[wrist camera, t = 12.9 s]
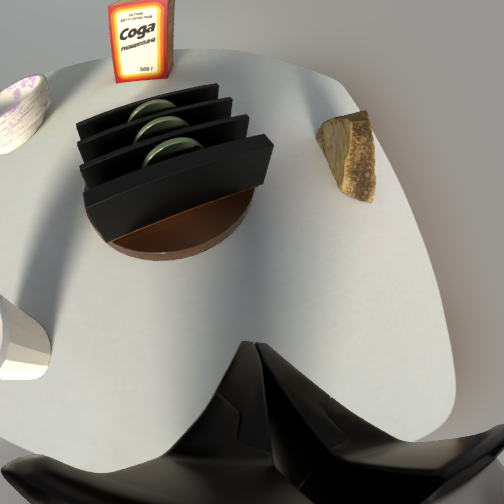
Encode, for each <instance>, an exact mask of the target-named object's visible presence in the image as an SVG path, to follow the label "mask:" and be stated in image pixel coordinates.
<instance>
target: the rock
mask: <svg viewBox="0 0 504 504" xmlns="http://www.w3.org/2000/svg"><path fill="white" fill-rule="evenodd" d="M317 131H318V132H317V134H316V139H317V142H318V144H319V145H320V147H321V149H322V151H323V153H324V155H325V157H326V158H327V161H328V163H329V167H330V169H331V171H332V173H333V176H334V177H335V179H336V180H337V184H338V187H339V188H340V190H341V191H342V192H344V193H346V194H347V195H350V196H352V197H354V198H356V199H358V200H361V201H367V202H370V203H371V202H372V200H373V199H372V197H373V195H374V193H375V185H376V176H375V169H374V167H375V146H374V138H373V135H372V130H371V123H370V121H369V116H368V113H367V111H360V112H356V113H352V114H348V115H344V116H339V117H334V118H332V119H330V120H327V121H326V122H323V124H322V126H321V127H320V128H319V129H318V130H317Z"/></svg>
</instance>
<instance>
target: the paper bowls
mask: <svg viewBox="0 0 504 504" xmlns="http://www.w3.org/2000/svg"><path fill="white" fill-rule="evenodd" d="M51 101H52V98H51V95H50V91H49V88H48V85H47V80H46V77H45V76H44V75H43V74H36V75H32V76H29V77H26V78H24V79H21V80H19V81H17V82H16V83H14V84H12V85H10V86H9V87H7V88H5V89H4V90H3V91H1V92H0V154H5V153H8V152H11V151H13V150H15V149H16V148H18V147H19V146H21V145H22V144H24V143H25V142H26V141H27V140H28V139H29V138H30V137H32V135H33V134H34V133H35V132H36V131H37V130H38V128H39V127H40V125H41V123H42V121H43V116H44V113H45V112H46V111H47V110H48V108H49V106H50V104H51Z"/></svg>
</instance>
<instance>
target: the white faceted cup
mask: <svg viewBox="0 0 504 504" xmlns="http://www.w3.org/2000/svg"><path fill="white" fill-rule="evenodd" d="M50 357H51V349H50V341H49V338H48V335H47V333H46V331H45V330H44V328H43V327H42V326H41V325H40V324H39V323H38V322H37V321H35V320H34V319H32V318H31V317H29V316H28V315H27V314H25V313H24V312H22V311H21V310H20V309H18V308H17V307H16V306H14V305H13V304H12V303H11V302H9V301H8V300H7V299H6V298H4V297H3V296H2V295H1V294H0V379H36V378H38V377H40V376H42V375H43V374H44V372H45V371H46V369H47V368H48V366H49V361H50Z"/></svg>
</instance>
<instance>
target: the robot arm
mask: <svg viewBox="0 0 504 504" xmlns="http://www.w3.org/2000/svg"><path fill="white" fill-rule="evenodd" d="M503 450H504V424H501V425H497V426H495V427H493V428H492V429H490V430H488V431H486V432H483V433H479V434H476V435H472V436H466V437H460V438H454V439H447V440H439V441H431V442H419V443H418V442H417V443H413V442H406V441H402V440H399V439H397V438H395V437H393V436H391V435H389V434H387V433H386V432H384V431H382V430H380V429H379V428H377V427H375V426H374V425H372V424H370V423H368V422H367V421H365V420H363V419H362V418H360V417H359V416H357V415H356V414H354V413H352V412H351V411H350V410H348V409H347V408H345V407H344V406H343V405H341V404H340V403H339V402H337V401H336V400H335V399H333V398H332V397H331V398H330V396H329V395H328V394H327V393H326V392H324V391H323V390H322V389H321V388H319V387H318V386H317V385H316V384H314V383H313V382H312V381H311V380H309V379H308V378H307V377H306V376H304V375H303V374H302V373H301V372H300V371H298V370H297V369H296V368H295V367H294V366H292V365H291V364H290V363H289V362H288V361H286V360H285V359H284V358H283V357H282V356H280V355H279V354H278V353H277V352H276V351H275V350H273V349H272V348H271V347H270V346H269V345H268V344H266V343H258V342H256V343H254V342H250V341H242V342H241V343H240V345H239V347H238V349H237V351H236V353H235V355H234V357H233V359H232V361H231V362H230V364H229V366H228V368H227V370H226V372H225V374H224V376H223V378H222V379H221V381H220V383H219V385H218V387H217V389H216V391H215V392H214V394H213V396H212V398H211V399H210V401H209V403H208V404H207V406H206V408H205V409H204V410H203V412H202V413H201V414H200V416H199V417H198V418H197V419H196V421H195V422H194V423H193V424H192V425H191V426H190V427H189V428H188V430H187V431H186V432H185V433H184V434H183V435H182V436H181V437H180V438H179V440H178V441H177V442H176V443H175V444H174V445H173V446H172V447H171V448H170V449H169V450H168V451H167V452H165V453H164V454H163V455H161V456H160V457H158V458H156V459H153V460H150V461H147V462H144V463H141V464H138V465H135V466H132V467H129V468H125V469H122V470H119V471H115V472H110V473H93V472H87V471H83V470H80V469H77V468H74V467H71V466H69V465H67V464H64V463H62V462H60V461H58V460H55V459H53V458H50V457H47V456H44V455H40V454H31V455H28V456H24V457H20V458H17V459H14V460H12V461H10V462H8V463H7V464H6V465H4V466H3V467H2V468H1V473H2V475H3V476H4V478H5V479H6V480H7V481H8V482H9V483H10V484H11V485H12V486H13V487H14V488H15V489H16V490H17V491H18V492H19V493H20V494H21V495H22V496H23V497H24V498H25V499H26V500H27V501H28V502H30V503H31V504H504V466H503V465H502V464H501V463H500V461H499V460H498V459H497V456H498V455H499V454H500V453H501V452H502V451H503Z"/></svg>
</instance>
